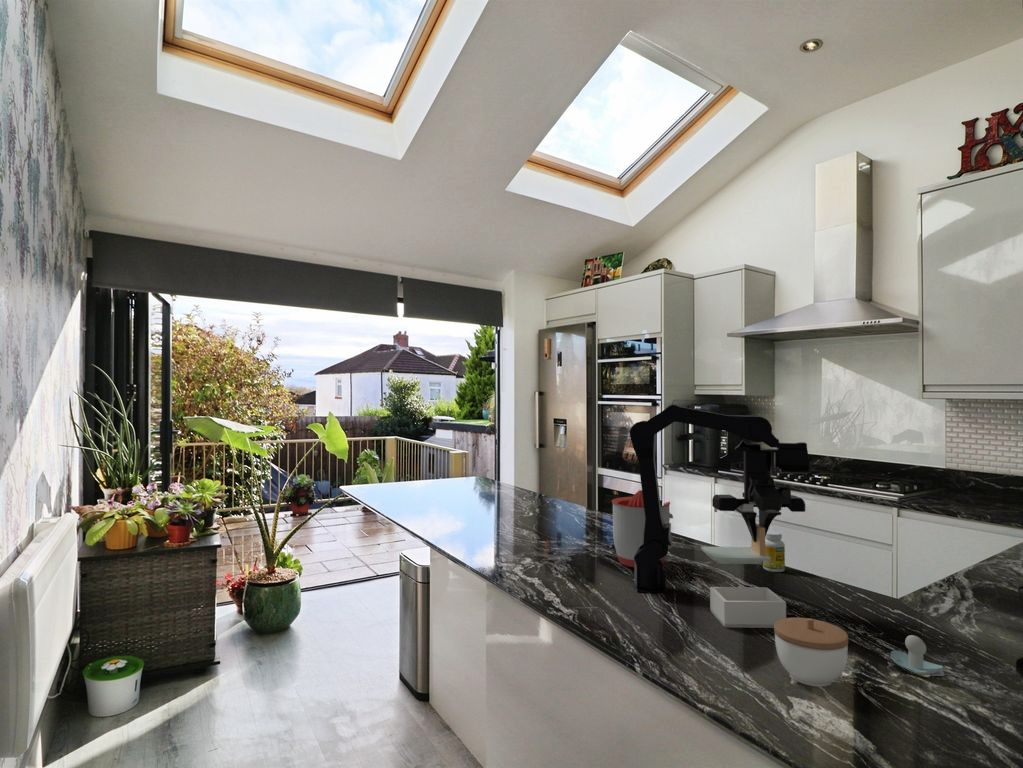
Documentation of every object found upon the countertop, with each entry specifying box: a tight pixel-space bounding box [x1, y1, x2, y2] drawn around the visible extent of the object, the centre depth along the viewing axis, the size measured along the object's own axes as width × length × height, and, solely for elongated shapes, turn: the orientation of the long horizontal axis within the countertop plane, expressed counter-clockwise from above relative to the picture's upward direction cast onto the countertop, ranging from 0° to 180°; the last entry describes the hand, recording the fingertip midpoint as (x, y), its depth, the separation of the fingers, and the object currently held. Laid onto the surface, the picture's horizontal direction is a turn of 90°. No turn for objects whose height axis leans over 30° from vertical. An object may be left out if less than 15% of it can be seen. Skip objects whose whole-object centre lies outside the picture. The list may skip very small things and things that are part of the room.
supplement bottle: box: [762, 530, 786, 573], centre depth 155 cm, size 5×5×10 cm
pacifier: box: [890, 634, 945, 677], centre depth 97 cm, size 7×6×6 cm
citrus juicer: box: [611, 489, 674, 568], centre depth 161 cm, size 16×17×20 cm
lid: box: [700, 522, 771, 565], centre depth 132 cm, size 12×9×8 cm
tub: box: [709, 586, 787, 629], centre depth 120 cm, size 12×9×5 cm
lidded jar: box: [773, 617, 849, 688], centre depth 95 cm, size 11×11×9 cm
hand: (758, 541), depth 132 cm, fingers closed on lid
